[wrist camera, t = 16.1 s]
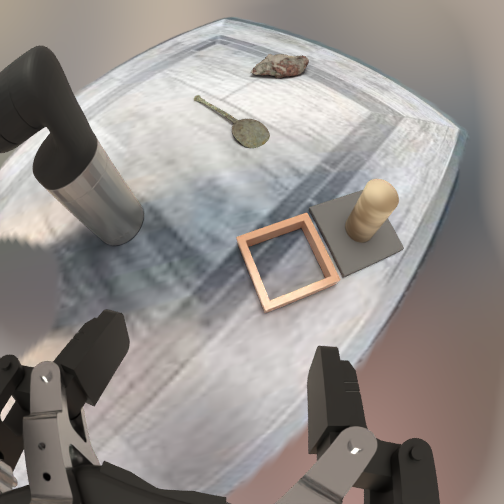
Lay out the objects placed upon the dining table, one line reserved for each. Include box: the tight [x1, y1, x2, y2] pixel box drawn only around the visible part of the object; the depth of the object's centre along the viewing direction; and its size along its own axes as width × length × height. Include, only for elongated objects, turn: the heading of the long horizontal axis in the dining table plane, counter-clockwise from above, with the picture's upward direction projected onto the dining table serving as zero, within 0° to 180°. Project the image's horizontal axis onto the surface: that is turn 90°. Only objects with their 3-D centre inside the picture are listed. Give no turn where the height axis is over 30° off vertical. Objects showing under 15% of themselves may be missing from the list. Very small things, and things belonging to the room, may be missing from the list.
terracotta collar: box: [236, 213, 340, 313], centre depth 38 cm, size 11×11×2 cm
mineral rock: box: [251, 54, 309, 78], centre depth 56 cm, size 15×8×4 cm, turn 91°
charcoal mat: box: [309, 190, 404, 277], centre depth 40 cm, size 12×12×1 cm
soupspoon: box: [194, 95, 270, 148], centre depth 50 cm, size 22×3×7 cm
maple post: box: [345, 179, 399, 243], centre depth 35 cm, size 5×5×10 cm
